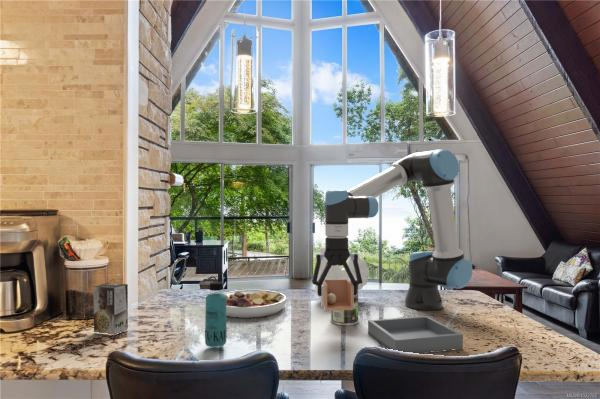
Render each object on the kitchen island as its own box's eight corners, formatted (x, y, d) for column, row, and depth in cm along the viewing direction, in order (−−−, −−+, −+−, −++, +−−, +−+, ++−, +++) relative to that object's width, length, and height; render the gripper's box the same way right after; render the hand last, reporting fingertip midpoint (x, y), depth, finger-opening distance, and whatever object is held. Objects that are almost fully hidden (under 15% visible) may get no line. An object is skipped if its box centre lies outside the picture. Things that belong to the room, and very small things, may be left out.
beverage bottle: (206, 344, 125) (206, 280, 125) (228, 344, 126) (228, 279, 126) (203, 352, 119) (203, 284, 119) (226, 352, 120) (226, 284, 120)
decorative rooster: (316, 307, 170) (316, 247, 170) (312, 298, 185) (312, 243, 185) (375, 306, 171) (375, 247, 171) (367, 297, 187) (367, 243, 187)
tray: (427, 328, 141) (427, 315, 141) (462, 349, 122) (462, 334, 122) (368, 333, 136) (368, 320, 136) (395, 355, 117) (395, 340, 117)
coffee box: (128, 331, 139) (128, 283, 139) (114, 337, 132) (114, 287, 132) (107, 328, 142) (107, 282, 142) (92, 334, 135) (92, 285, 135)
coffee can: (359, 318, 154) (359, 281, 154) (357, 326, 144) (357, 286, 144) (332, 316, 156) (332, 279, 156) (328, 324, 146) (328, 285, 146)
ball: (332, 290, 135) (326, 291, 133) (340, 296, 133) (334, 297, 130) (328, 300, 136) (322, 301, 133) (336, 306, 134) (330, 307, 131)
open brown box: (321, 303, 138) (321, 279, 138) (348, 302, 138) (348, 279, 138) (325, 310, 129) (325, 285, 129) (353, 309, 129) (353, 284, 129)
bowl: (221, 300, 182) (221, 282, 182) (288, 301, 181) (288, 283, 181) (203, 320, 152) (203, 299, 152) (283, 321, 151) (283, 300, 151)
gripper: (304, 238, 129) (305, 309, 129) (372, 237, 130) (372, 307, 130) (303, 236, 137) (303, 303, 137) (366, 235, 138) (367, 301, 138)
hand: (337, 305), depth 134 cm, fingers closed on open brown box, 9 cm apart
